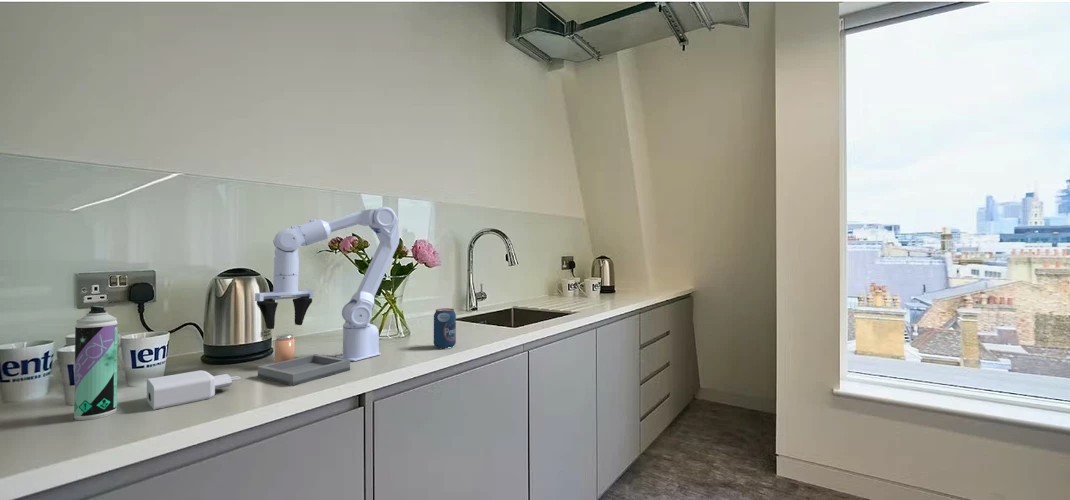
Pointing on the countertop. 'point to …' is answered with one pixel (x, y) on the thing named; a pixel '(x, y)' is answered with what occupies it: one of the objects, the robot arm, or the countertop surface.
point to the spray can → (95, 365)
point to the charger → (184, 388)
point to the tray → (303, 369)
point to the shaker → (284, 347)
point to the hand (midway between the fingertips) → (284, 326)
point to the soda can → (444, 328)
